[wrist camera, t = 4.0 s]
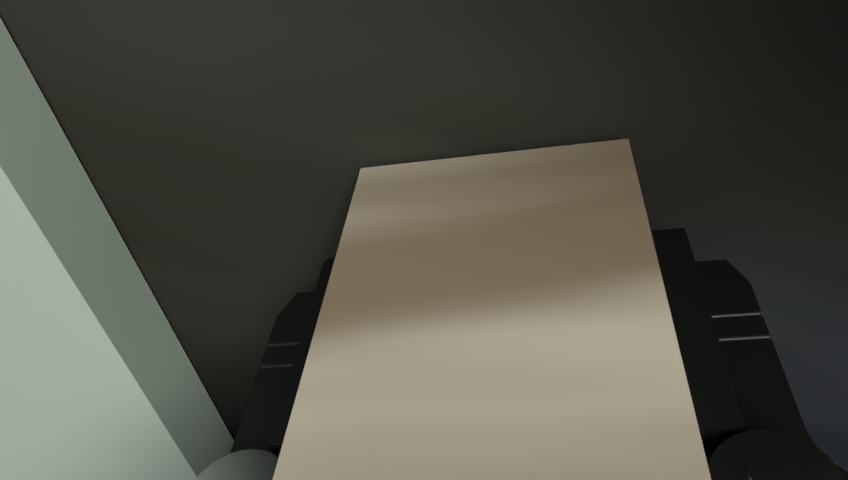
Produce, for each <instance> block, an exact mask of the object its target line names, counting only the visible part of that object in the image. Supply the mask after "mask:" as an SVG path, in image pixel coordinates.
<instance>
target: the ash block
mask: <svg viewBox="0 0 848 480" xmlns="http://www.w3.org/2000/svg"><path fill="white" fill-rule="evenodd" d="M272 480H711V476H710V472H709V468H708V464H707V460H706V456H705V452H704V448H703V443H702V439H701V435H700V431H699V427H698V423H697V419H696V415H695V411H694V406H693V402H692V398H691V394H690V390H689V386H688V382H687V378H686V374H685V369H684V365H683V361H682V357H681V353H680V349H679V345H678V341H677V337H676V332H675V328H674V324H673V320H672V316H671V312H670V308H669V304H668V300H667V295H666V291H665V287H664V283H663V279H662V275H661V271H660V267H659V263H658V259H657V254H656V250H655V246H654V242H653V238H652V234H651V230H650V226H649V222H648V217H647V213H646V209H645V205H644V201H643V197H642V193H641V189H640V185H639V180H638V176H637V172H636V168H635V164H634V160H633V156H632V152H631V148H630V143H629V139H620V140H611V141H602V142H593V143H584V144H575V145H566V146H557V147H548V148H539V149H530V150H521V151H512V152H503V153H494V154H485V155H476V156H467V157H458V158H449V159H440V160H431V161H422V162H413V163H404V164H395V165H386V166H377V167H368V168H361V169H360V172H359V176H358V179H357V183H356V186H355V190H354V193H353V197H352V200H351V204H350V207H349V211H348V215H347V218H346V222H345V225H344V229H343V232H342V236H341V239H340V243H339V246H338V250H337V253H336V257H335V260H334V264H333V268H332V271H331V275H330V278H329V282H328V285H327V289H326V292H325V296H324V299H323V303H322V306H321V310H320V313H319V317H318V320H317V324H316V328H315V331H314V335H313V338H312V342H311V345H310V349H309V352H308V356H307V359H306V363H305V366H304V370H303V373H302V377H301V380H300V384H299V388H298V391H297V395H296V398H295V402H294V405H293V409H292V412H291V416H290V419H289V423H288V426H287V430H286V433H285V437H284V441H283V444H282V448H281V451H280V455H279V458H278V462H277V465H276V469H275V472H274V476H273V479H272Z"/></svg>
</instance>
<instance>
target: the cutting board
mask: <svg viewBox="0 0 848 480" xmlns="http://www.w3.org/2000/svg"><path fill="white" fill-rule="evenodd" d="M233 443H234V440H233V438H232V436H231V435H230V433H229V431H228V429H227V427H226V426H225V424H224V422H223V420H222V418H221V417H220V415H219V413H218V411H217V409H216V407H215V406H214V404H213V402H212V400H211V398H210V397H209V395H208V393H207V391H206V389H205V388H204V386H203V384H202V382H201V380H200V378H199V377H198V375H197V373H196V371H195V369H194V368H193V366H192V364H191V362H190V360H189V359H188V357H187V355H186V353H185V351H184V349H183V348H182V346H181V344H180V342H179V340H178V339H177V337H176V335H175V333H174V331H173V330H172V328H171V326H170V324H169V322H168V320H167V319H166V317H165V315H164V313H163V311H162V310H161V308H160V306H159V304H158V302H157V301H156V299H155V297H154V295H153V293H152V291H151V290H150V288H149V286H148V284H147V282H146V281H145V279H144V277H143V275H142V273H141V272H140V270H139V268H138V266H137V264H136V263H135V261H134V259H133V257H132V255H131V253H130V252H129V250H128V248H127V246H126V244H125V243H124V241H123V239H122V237H121V235H120V234H119V232H118V230H117V228H116V226H115V224H114V223H113V221H112V219H111V217H110V215H109V214H108V212H107V210H106V208H105V206H104V205H103V203H102V201H101V199H100V197H99V195H98V194H97V192H96V190H95V188H94V186H93V185H92V183H91V181H90V179H89V177H88V176H87V174H86V172H85V170H84V168H83V166H82V165H81V163H80V161H79V159H78V157H77V156H76V154H75V152H74V150H73V148H72V147H71V145H70V143H69V141H68V139H67V137H66V136H65V134H64V132H63V130H62V128H61V127H60V125H59V123H58V121H57V119H56V118H55V116H54V114H53V112H52V110H51V108H50V107H49V105H48V103H47V101H46V99H45V98H44V96H43V94H42V92H41V90H40V89H39V87H38V85H37V83H36V81H35V79H34V78H33V76H32V74H31V72H30V70H29V69H28V67H27V65H26V63H25V61H24V60H23V58H22V56H21V54H20V52H19V51H18V49H17V47H16V45H15V43H14V41H13V40H12V38H11V36H10V34H9V32H8V31H7V29H6V27H5V25H4V23H3V22H2V20H1V18H0V480H195V479H196V478H197V477H198V476H199V474H200V473H201V472H202V471H203V470H204V469H206V468H207V467H208V466H209V465H211V464H212V463H213V462H215V461H216V460H218V459H220V458H222V457H224V456H226V455H228V454H229V453H230V451H231V449H232V446H233Z"/></svg>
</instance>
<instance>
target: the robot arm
mask: <svg viewBox="0 0 848 480" xmlns="http://www.w3.org/2000/svg"><path fill="white" fill-rule="evenodd" d="M651 234H652V238H653V242H654V246H655V250H656V254H657V259H658V263H659V267H660V271H661V275H662V279H663V283H664V287H665V291H666V295H667V300H668V304H669V308H670V312H671V316H672V320H673V324H674V328H675V332H676V337H677V341H678V345H679V349H680V353H681V357H682V361H683V365H684V369H685V374H686V378H687V382H688V386H689V390H690V394H691V398H692V402H693V406H694V411H695V415H696V419H697V423H698V427H699V431H700V435H701V439H702V443H703V448H704V452H705V456H706V460H707V464H708V468H709V472H710V476H711V480H848V472H847V471H845V470H843V469H842V468H841V467H839V466H838V465H836V464H835V463H834V462H833V461H832V460H831V459H830V458H829V457H828V456H827V455H826V454H825V453H824V452H823V451H822V450H820V449H819V448H818V447H817V446H816V445H815V444H814V442H813V441H812V439H811V438H810V436H809V435H808V432H807V430H806V428H805V426H804V423H803V421H802V418H801V415H800V413H799V410H798V408H797V405H796V402H795V400H794V397H793V394H792V392H791V389H790V386H789V384H788V381H787V379H786V376H785V373H784V371H783V368H782V365H781V363H780V360H779V357H778V355H777V352H776V350H775V347H774V344H773V342H772V340H770V334H769V331H768V328H767V326H766V323H765V321H764V318H763V316H761V310H760V307H759V305H758V302H757V299H756V297H755V294H754V292H753V289H752V286H751V284H750V282H749V281H748V280H747V279H746V278H745V277H744V276H742V275H741V274H740V273H739V272H738V271H737V270H736V269H735V268H734V267H733V266H732V265H731V264H730V263H729V262H728V261H727V260H714V261H701V262H695V260H694V256H693V253H692V250H691V246H690V243H689V240H688V236H687V233H686V231H685V229H684V228H678V229H666V230H655V231H651ZM334 260H335V258H329V259H327V260H325V262H324V264H323V267H322V270H321V274H320V277H319V280H318V284H317V287H316V290H315V292H302V293H297V294H296V295H295V296H294V297H293V299H292V300H291V301H290V302H289V303H288V304H287V306H286V307H285V308H284V309H283V310H282V312H281V313H280V314H279V315H278V316H277V319H276V321H275V324H274V327H273V330H272V333H271V336H270V339H269V342H268V344H269V347H268V348H266V350H265V353H264V356H263V359H262V362H261V370H259V371H258V374H257V376H256V379H255V382H254V385H253V388H252V391H251V394H250V397H249V400H248V402H247V405H246V408H245V411H244V414H243V417H242V420H241V423H240V426H239V429H238V431H237V434H236V437H235V440H234V443H233V446H232V449H231V451H230V453H229V454H228V455H226V456H224V457H222V458H220V459H218V460H216V461H215V462H213V463H212V464H211V465H209V466H208V467H207V468H206V469H204V470H203V471H202V472H201V473H200V474H199V476H198V477H197V478H196V479H195V480H272V479H273V476H274V472H275V469H276V465H277V462H278V458H279V455H280V451H281V448H282V444H283V441H284V437H285V433H286V430H287V426H288V423H289V419H290V416H291V412H292V409H293V405H294V402H295V398H296V395H297V391H298V388H299V384H300V380H301V377H302V373H303V370H304V366H305V363H306V359H307V356H308V352H309V349H310V345H311V342H312V338H313V335H314V331H315V328H316V324H317V320H318V317H319V313H320V310H321V306H322V303H323V299H324V296H325V292H326V289H327V285H328V282H329V278H330V275H331V271H332V268H333V264H334Z"/></svg>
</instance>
